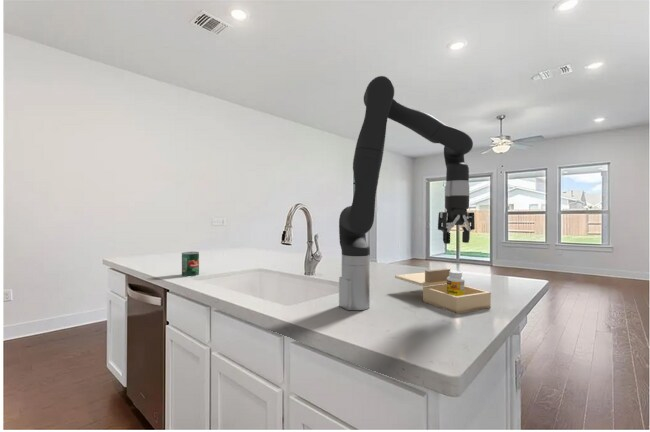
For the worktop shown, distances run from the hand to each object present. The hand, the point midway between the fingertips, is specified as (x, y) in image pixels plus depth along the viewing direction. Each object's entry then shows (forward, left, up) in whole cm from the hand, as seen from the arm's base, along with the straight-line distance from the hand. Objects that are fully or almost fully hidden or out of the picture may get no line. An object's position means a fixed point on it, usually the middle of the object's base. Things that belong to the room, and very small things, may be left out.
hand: (456, 243), depth 109 cm
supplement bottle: (0, 0, -20) cm, 20 cm away
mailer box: (0, 0, -21) cm, 21 cm away
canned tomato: (-79, +91, -21) cm, 122 cm away
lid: (0, +15, -15) cm, 22 cm away
